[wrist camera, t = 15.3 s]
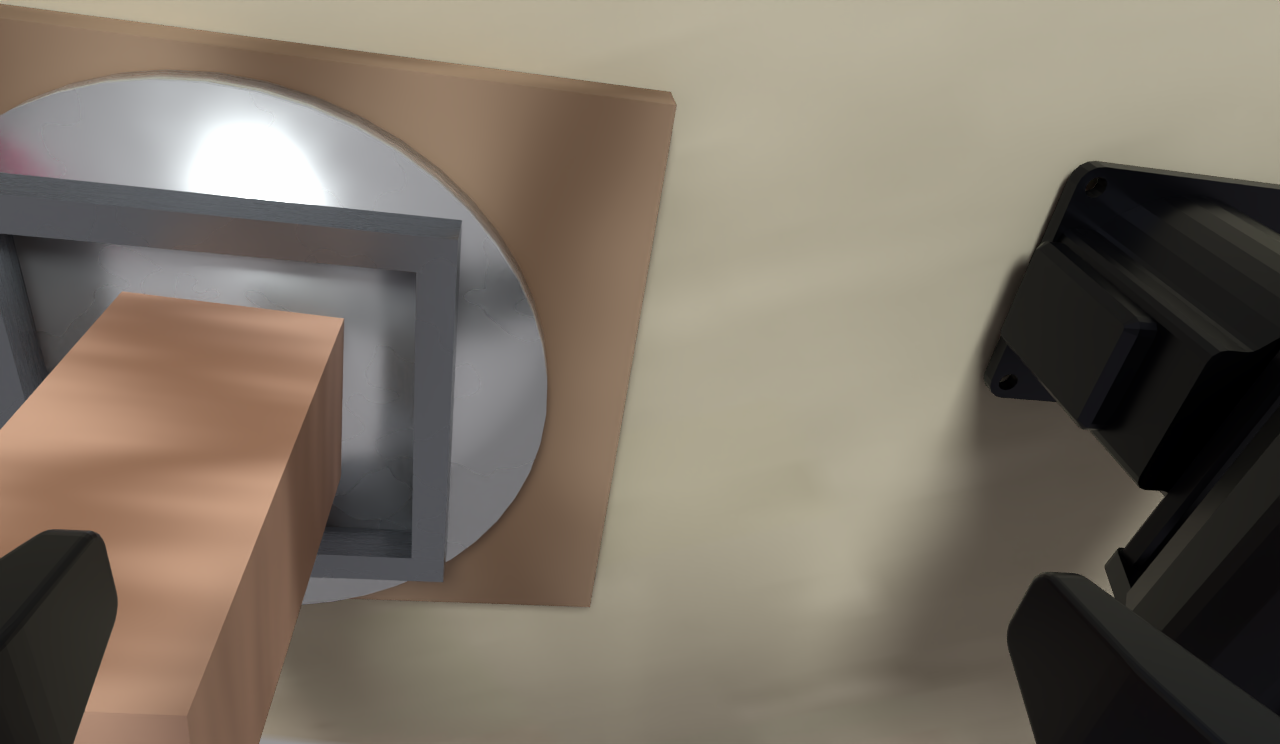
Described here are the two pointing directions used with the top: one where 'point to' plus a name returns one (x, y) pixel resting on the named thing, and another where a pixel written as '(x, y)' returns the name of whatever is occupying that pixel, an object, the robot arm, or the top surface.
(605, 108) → the walnut board
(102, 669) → the tan wooden block
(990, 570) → the top surface
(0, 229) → the rosette plate
